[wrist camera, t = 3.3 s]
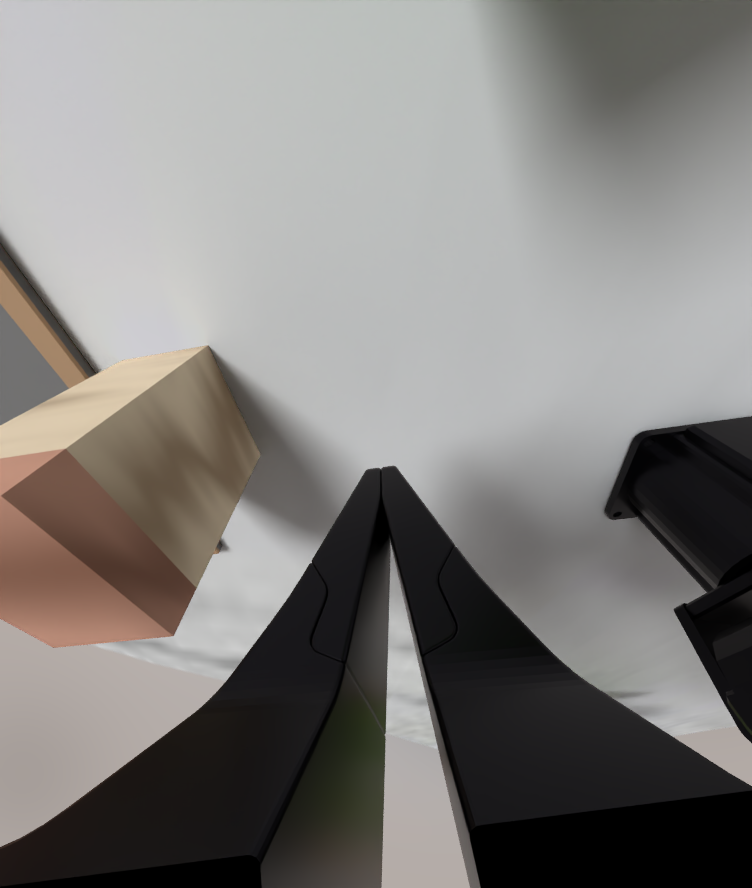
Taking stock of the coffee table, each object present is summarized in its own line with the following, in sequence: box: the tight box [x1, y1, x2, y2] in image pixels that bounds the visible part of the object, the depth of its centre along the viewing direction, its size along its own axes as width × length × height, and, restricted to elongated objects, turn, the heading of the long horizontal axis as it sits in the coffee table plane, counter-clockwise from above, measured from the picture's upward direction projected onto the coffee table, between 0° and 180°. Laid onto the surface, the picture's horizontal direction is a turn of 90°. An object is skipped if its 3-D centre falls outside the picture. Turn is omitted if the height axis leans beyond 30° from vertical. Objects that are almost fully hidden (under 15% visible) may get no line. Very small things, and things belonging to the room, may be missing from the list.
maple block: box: [0, 345, 261, 648], centre depth 11 cm, size 6×4×9 cm, turn 9°
